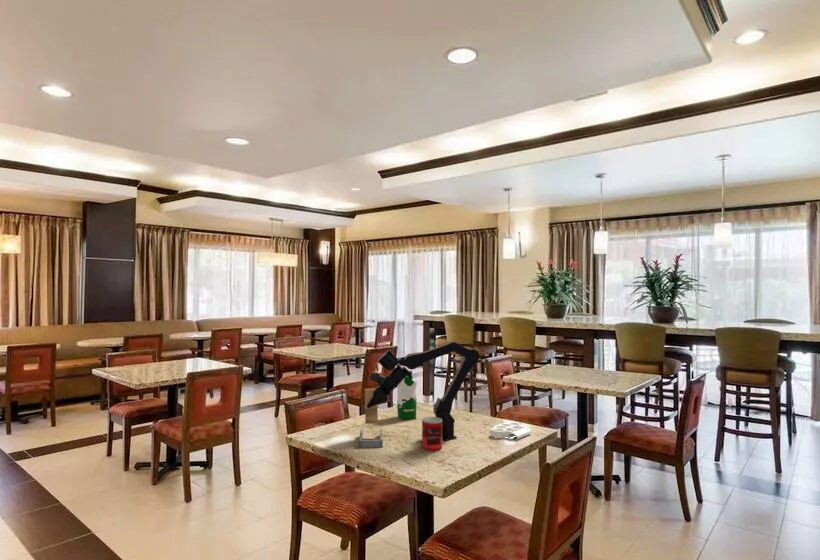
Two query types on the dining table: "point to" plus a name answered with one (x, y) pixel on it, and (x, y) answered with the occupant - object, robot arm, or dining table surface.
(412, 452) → the dining table surface
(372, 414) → the block
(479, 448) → the dining table surface
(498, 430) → the white egg tray
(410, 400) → the milk carton
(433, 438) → the canned food
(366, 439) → the gray u-shaped bracket
